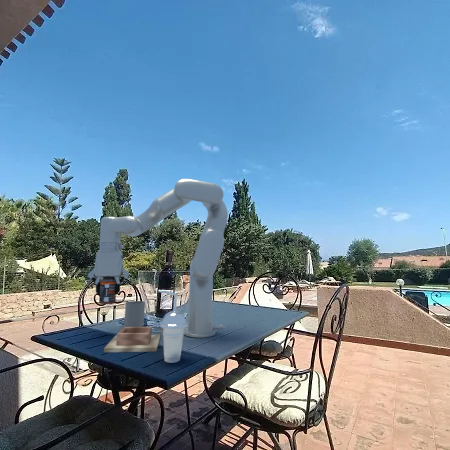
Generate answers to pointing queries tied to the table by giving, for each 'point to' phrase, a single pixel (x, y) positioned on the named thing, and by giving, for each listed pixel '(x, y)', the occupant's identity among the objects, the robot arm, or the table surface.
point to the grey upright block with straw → (173, 332)
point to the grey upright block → (134, 314)
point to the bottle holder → (134, 340)
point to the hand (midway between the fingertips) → (107, 293)
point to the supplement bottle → (107, 290)
